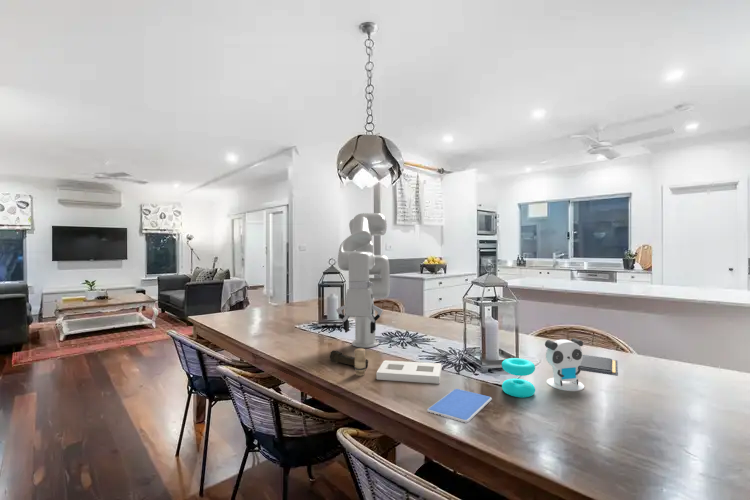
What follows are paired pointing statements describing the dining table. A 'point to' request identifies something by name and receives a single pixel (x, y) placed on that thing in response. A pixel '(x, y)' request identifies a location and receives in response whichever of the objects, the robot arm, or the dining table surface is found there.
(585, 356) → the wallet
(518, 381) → the donuts
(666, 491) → the dining table surface
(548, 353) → the panda figurine
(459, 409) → the tablet computer
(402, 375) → the hole board
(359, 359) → the oak peg
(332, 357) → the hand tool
